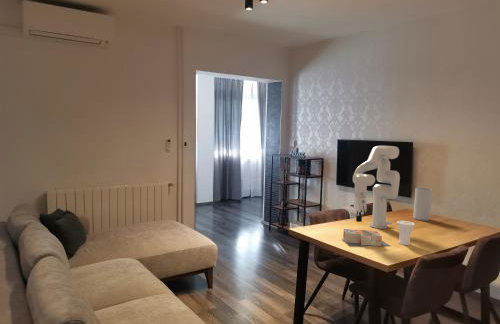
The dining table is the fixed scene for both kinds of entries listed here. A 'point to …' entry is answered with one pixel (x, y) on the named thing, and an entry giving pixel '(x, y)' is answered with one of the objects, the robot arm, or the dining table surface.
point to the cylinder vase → (422, 204)
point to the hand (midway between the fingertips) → (358, 221)
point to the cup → (405, 231)
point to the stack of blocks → (362, 237)
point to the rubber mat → (366, 245)
